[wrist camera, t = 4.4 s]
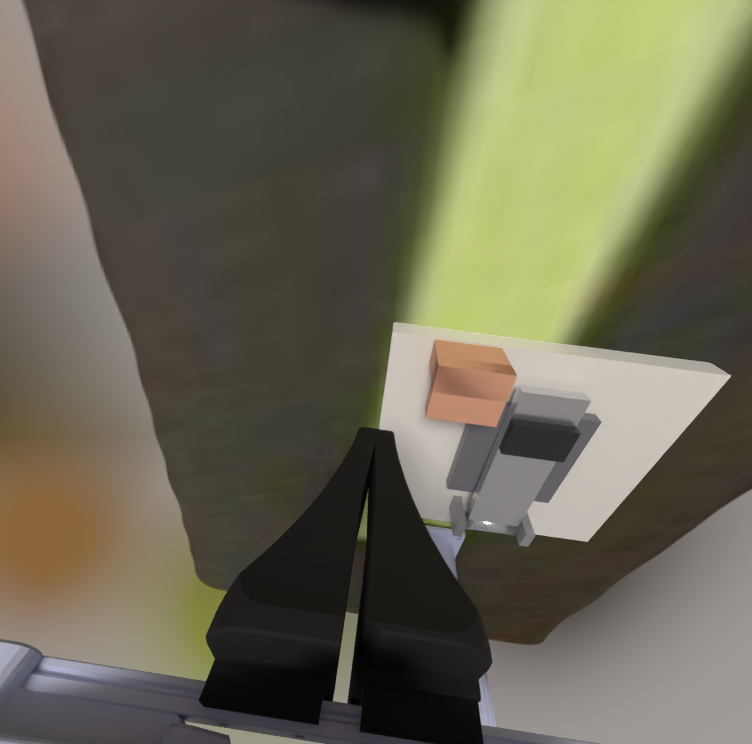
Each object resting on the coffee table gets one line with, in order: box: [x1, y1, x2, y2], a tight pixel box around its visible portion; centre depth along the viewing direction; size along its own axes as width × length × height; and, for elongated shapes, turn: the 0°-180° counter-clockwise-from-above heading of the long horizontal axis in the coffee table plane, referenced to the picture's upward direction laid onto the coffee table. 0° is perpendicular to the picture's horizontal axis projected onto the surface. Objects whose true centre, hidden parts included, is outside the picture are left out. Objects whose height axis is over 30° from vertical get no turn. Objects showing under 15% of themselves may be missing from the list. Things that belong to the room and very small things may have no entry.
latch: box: [425, 340, 517, 427], centre depth 18 cm, size 4×4×3 cm
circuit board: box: [379, 322, 731, 547], centre depth 23 cm, size 18×20×4 cm
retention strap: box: [464, 384, 591, 536], centre depth 22 cm, size 14×4×2 cm, turn 174°
